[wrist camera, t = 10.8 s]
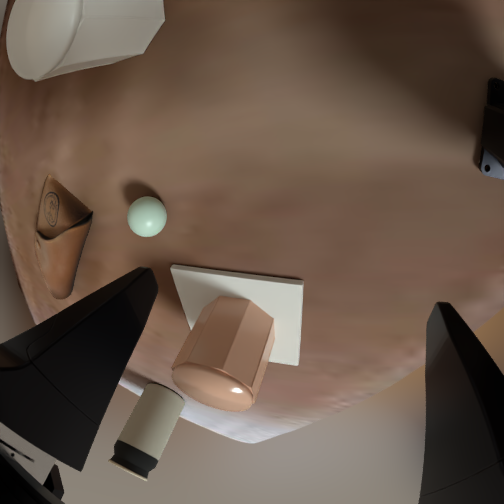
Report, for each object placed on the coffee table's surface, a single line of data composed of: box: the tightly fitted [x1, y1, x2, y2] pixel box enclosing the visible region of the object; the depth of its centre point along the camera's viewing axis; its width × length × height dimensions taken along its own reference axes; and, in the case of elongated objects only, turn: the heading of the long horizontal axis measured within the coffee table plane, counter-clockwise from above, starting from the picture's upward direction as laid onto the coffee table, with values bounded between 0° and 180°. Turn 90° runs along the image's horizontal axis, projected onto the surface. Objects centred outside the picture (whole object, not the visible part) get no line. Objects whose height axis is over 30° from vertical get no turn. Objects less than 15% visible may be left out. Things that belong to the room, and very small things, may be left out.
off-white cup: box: [6, 0, 165, 82], centre depth 11 cm, size 7×7×8 cm
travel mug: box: [108, 384, 185, 481], centre depth 43 cm, size 8×8×18 cm
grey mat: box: [170, 264, 303, 366], centre depth 29 cm, size 12×12×1 cm
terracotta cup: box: [172, 296, 275, 412], centre depth 25 cm, size 7×7×8 cm
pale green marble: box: [127, 196, 167, 237], centre depth 22 cm, size 3×3×3 cm
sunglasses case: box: [34, 174, 93, 299], centre depth 30 cm, size 18×7×7 cm
